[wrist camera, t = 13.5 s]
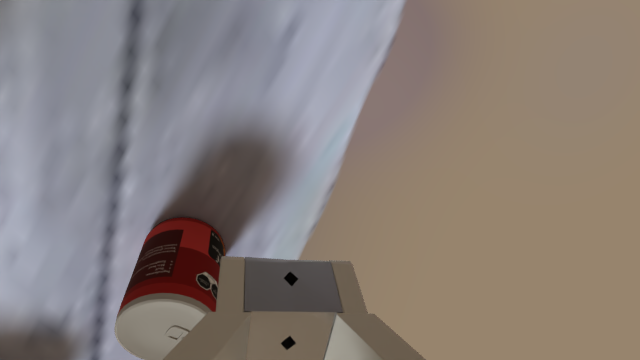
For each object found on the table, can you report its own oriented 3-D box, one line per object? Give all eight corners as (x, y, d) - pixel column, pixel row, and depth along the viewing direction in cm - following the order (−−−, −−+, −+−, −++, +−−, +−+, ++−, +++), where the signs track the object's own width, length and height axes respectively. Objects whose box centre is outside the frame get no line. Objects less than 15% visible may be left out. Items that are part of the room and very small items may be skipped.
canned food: (216, 279, 45) (205, 369, 35) (139, 265, 42) (106, 358, 33) (235, 224, 41) (229, 308, 32) (153, 206, 39) (120, 291, 30)
